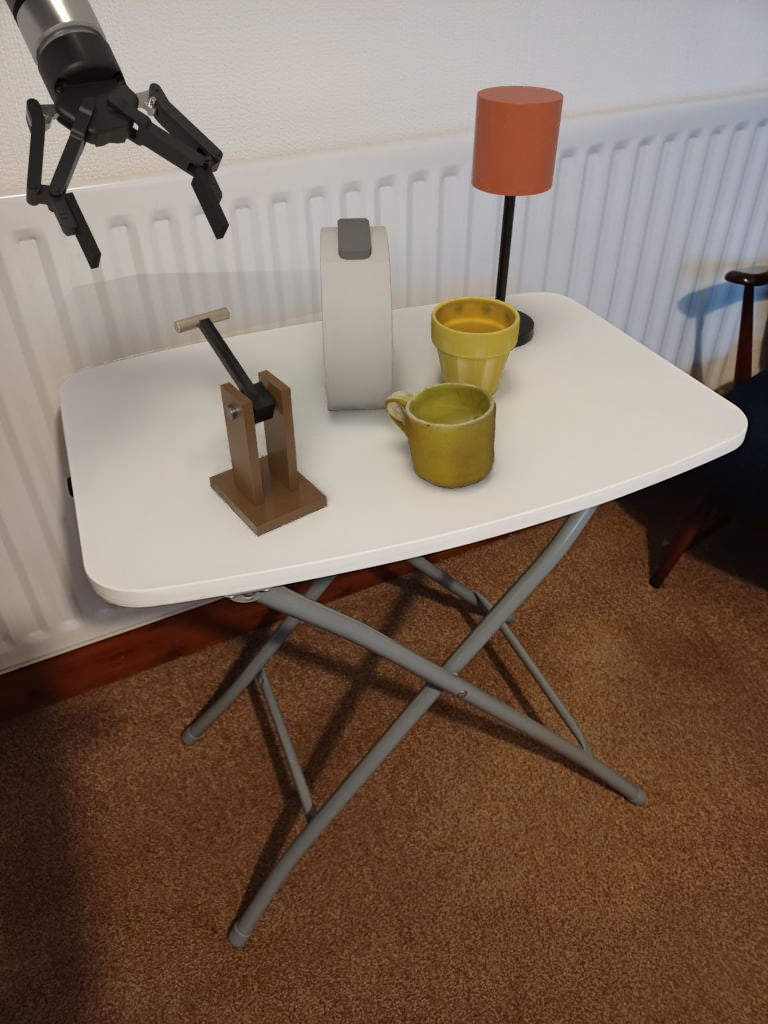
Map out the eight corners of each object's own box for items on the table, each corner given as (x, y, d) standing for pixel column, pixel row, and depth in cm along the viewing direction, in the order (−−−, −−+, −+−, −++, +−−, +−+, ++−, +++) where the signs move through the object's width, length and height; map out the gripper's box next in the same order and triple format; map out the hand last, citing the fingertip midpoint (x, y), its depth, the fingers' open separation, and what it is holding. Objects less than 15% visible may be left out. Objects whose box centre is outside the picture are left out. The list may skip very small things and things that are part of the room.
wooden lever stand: (210, 486, 82) (191, 377, 74) (276, 460, 85) (265, 354, 77) (257, 536, 76) (242, 423, 68) (327, 506, 79) (320, 395, 71)
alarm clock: (328, 344, 107) (320, 194, 95) (382, 343, 107) (382, 193, 95) (327, 428, 90) (318, 260, 78) (392, 426, 91) (393, 258, 78)
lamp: (466, 349, 106) (484, 104, 87) (456, 317, 114) (471, 86, 95) (539, 347, 106) (573, 103, 88) (525, 316, 114) (552, 85, 95)
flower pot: (455, 416, 93) (461, 340, 86) (413, 378, 100) (415, 305, 94) (528, 396, 96) (538, 321, 90) (482, 360, 103) (489, 289, 97)
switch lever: (173, 331, 77) (173, 314, 75) (223, 317, 79) (225, 300, 77) (236, 431, 73) (239, 416, 71) (287, 412, 75) (291, 397, 73)
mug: (530, 449, 84) (505, 375, 77) (470, 514, 80) (440, 442, 74) (447, 424, 92) (419, 355, 86) (390, 481, 88) (356, 414, 82)
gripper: (180, 67, 88) (260, 239, 88) (-57, 95, 76) (35, 293, 76) (194, 16, 81) (280, 202, 81) (-64, 39, 69) (38, 255, 69)
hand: (162, 246), depth 79 cm, fingers open, 13 cm apart
